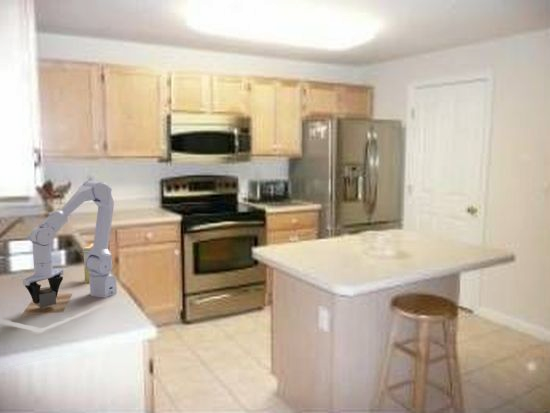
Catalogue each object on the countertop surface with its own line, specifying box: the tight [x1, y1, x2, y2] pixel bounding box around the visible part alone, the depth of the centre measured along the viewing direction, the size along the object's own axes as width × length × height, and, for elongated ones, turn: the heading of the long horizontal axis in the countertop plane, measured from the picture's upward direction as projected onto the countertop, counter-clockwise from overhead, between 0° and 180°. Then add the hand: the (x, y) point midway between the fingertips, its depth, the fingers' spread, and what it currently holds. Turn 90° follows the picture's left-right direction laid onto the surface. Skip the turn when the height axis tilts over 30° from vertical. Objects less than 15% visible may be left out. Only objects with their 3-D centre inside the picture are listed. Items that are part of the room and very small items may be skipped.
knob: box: [35, 286, 56, 308], centre depth 163 cm, size 5×5×5 cm
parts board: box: [20, 292, 73, 316], centre depth 168 cm, size 21×13×1 cm, turn 15°
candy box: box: [83, 242, 94, 285], centre depth 199 cm, size 9×4×15 cm, turn 179°
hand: (45, 299), depth 163 cm, fingers closed on knob, 6 cm apart
